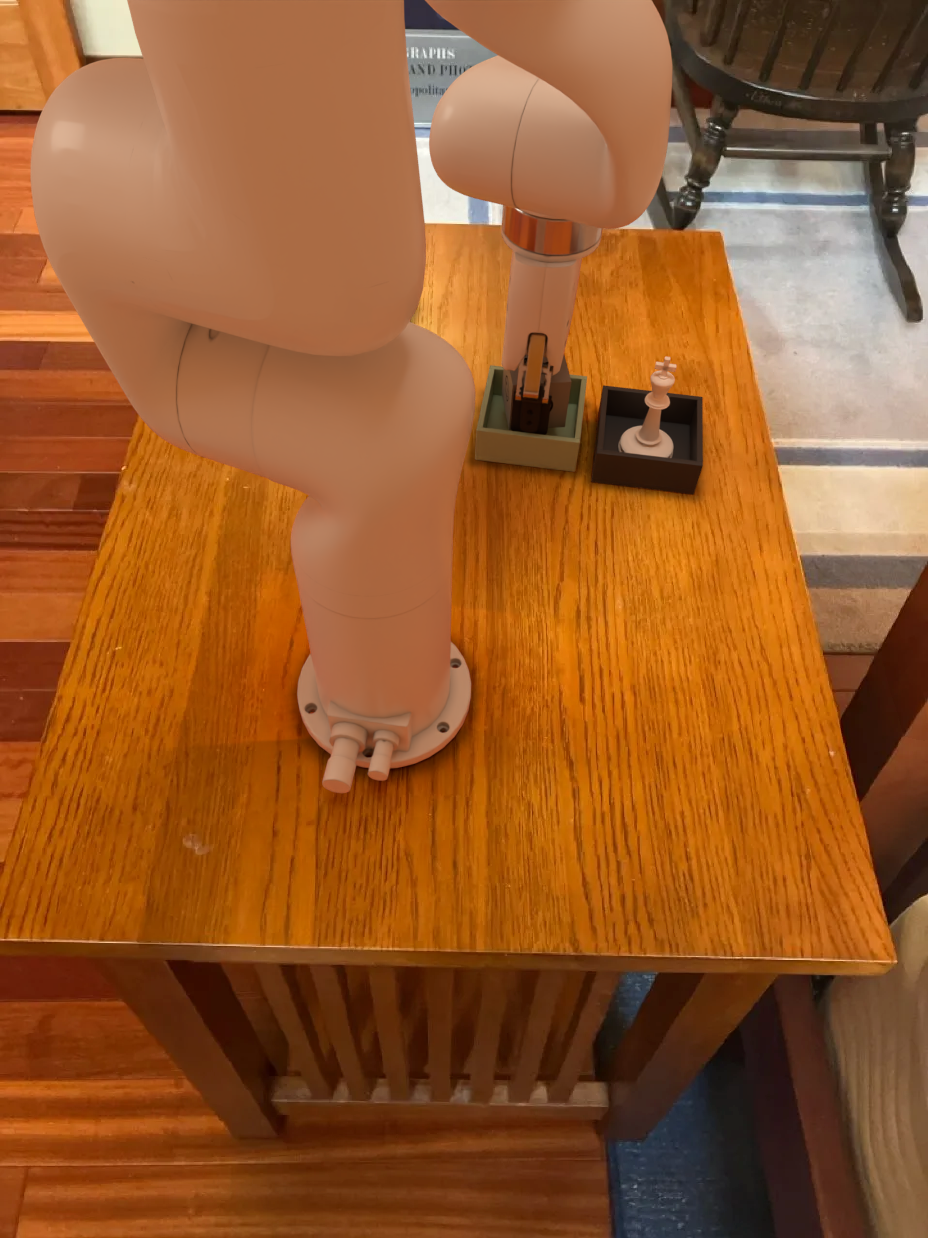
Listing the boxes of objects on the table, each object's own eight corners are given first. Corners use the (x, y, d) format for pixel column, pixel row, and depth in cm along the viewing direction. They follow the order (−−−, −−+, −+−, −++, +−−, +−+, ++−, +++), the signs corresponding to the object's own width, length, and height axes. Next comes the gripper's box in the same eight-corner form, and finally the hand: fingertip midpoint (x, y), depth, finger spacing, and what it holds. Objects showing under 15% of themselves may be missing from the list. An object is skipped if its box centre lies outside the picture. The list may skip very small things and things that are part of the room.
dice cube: (501, 392, 85) (504, 347, 81) (555, 390, 85) (561, 344, 81) (508, 430, 82) (512, 384, 78) (564, 427, 82) (571, 381, 78)
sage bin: (575, 472, 83) (579, 442, 80) (474, 459, 83) (476, 430, 80) (582, 405, 88) (587, 375, 85) (488, 394, 89) (490, 364, 86)
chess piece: (670, 472, 82) (696, 381, 74) (615, 463, 83) (634, 372, 75) (674, 435, 85) (699, 344, 77) (621, 426, 86) (640, 335, 78)
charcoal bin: (693, 494, 81) (703, 465, 78) (591, 482, 82) (596, 452, 79) (694, 426, 87) (702, 396, 84) (597, 414, 87) (603, 384, 84)
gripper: (516, 153, 74) (503, 342, 89) (487, 277, 64) (477, 468, 78) (610, 162, 74) (581, 351, 88) (596, 289, 63) (566, 479, 78)
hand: (533, 404), depth 83 cm, fingers closed on dice cube, 5 cm apart
